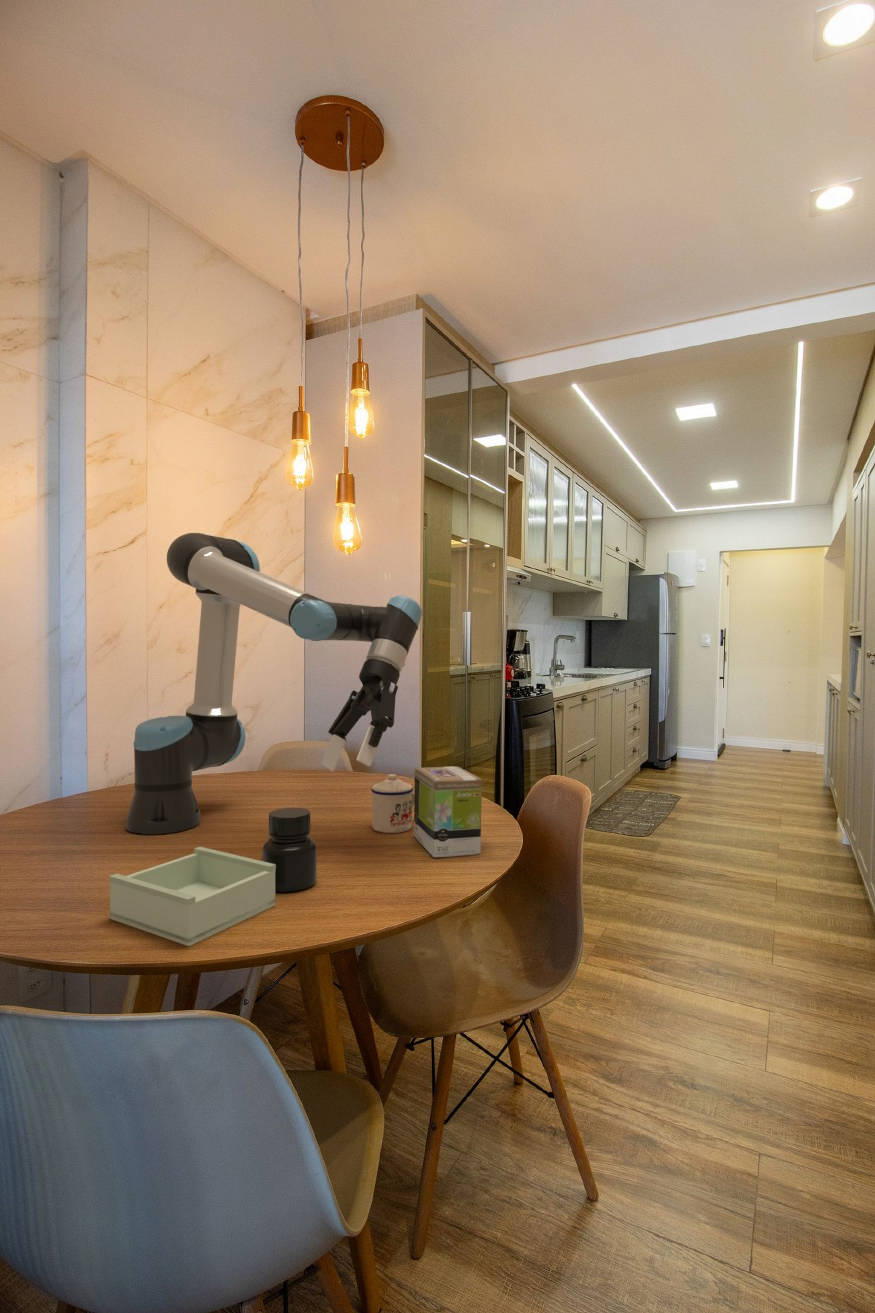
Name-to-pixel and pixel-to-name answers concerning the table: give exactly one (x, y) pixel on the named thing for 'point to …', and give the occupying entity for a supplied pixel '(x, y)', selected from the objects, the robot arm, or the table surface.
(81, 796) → the table surface
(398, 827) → the teacup with lid
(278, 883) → the ink bottle
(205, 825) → the table surface
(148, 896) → the tray
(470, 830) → the tea box
